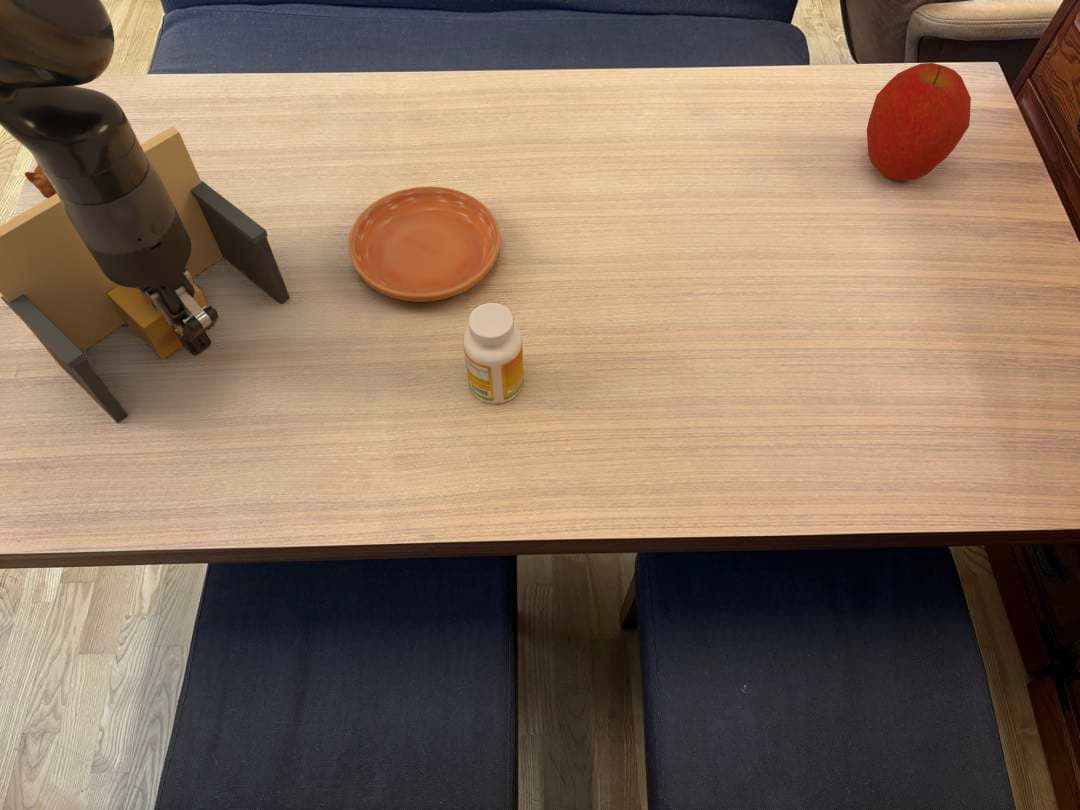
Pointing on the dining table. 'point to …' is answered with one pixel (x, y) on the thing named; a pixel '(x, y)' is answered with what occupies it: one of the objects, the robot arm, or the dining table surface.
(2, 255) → the small wooden bench
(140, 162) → the robot arm
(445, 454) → the dining table surface
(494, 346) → the supplement bottle
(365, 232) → the saucer
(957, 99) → the apple
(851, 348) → the dining table surface
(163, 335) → the box
